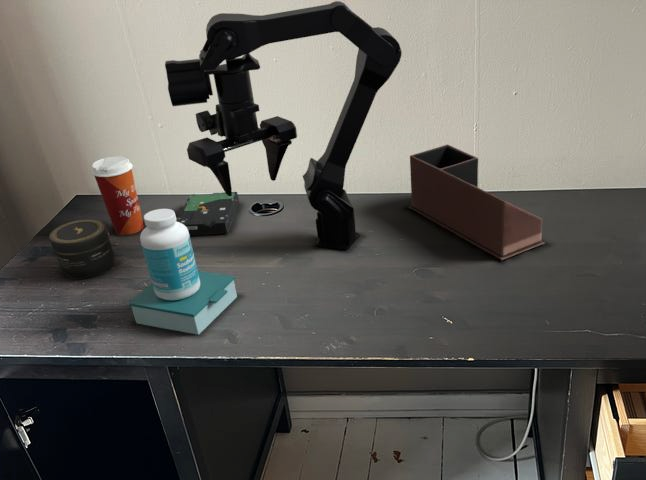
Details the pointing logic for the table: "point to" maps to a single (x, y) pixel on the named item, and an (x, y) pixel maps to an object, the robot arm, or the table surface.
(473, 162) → the desk organizer
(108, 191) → the paper cup
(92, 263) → the jar
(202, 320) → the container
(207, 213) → the disk drive
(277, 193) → the table surface
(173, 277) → the pill bottle
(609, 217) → the table surface
